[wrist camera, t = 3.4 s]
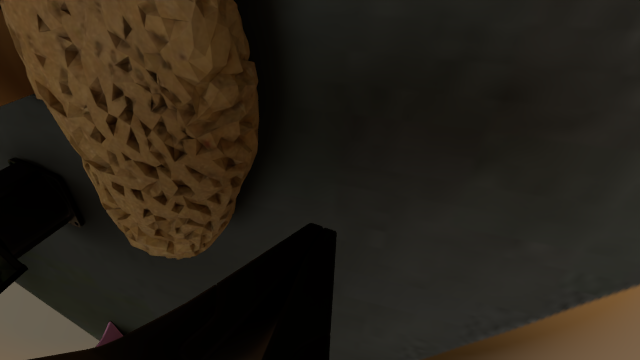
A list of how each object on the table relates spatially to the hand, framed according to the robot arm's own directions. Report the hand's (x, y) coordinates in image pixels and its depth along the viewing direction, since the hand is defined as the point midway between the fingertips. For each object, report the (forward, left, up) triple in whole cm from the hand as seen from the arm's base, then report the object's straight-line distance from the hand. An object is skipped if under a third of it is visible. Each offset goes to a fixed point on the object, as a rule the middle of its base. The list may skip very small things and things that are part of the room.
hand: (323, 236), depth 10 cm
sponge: (0, +11, -8) cm, 14 cm away
